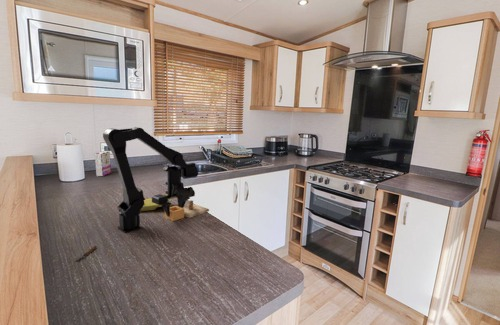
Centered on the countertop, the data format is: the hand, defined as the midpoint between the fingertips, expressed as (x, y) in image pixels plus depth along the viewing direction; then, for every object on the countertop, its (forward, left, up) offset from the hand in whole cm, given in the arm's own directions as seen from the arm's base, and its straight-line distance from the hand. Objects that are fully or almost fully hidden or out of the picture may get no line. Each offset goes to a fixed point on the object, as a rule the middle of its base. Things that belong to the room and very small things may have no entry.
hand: (174, 214), depth 118 cm
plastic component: (0, +18, -2) cm, 18 cm away
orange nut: (0, 0, -1) cm, 1 cm away
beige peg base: (+10, +1, -1) cm, 10 cm away
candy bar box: (+14, +101, -2) cm, 102 cm away
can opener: (-38, -6, -2) cm, 39 cm away
